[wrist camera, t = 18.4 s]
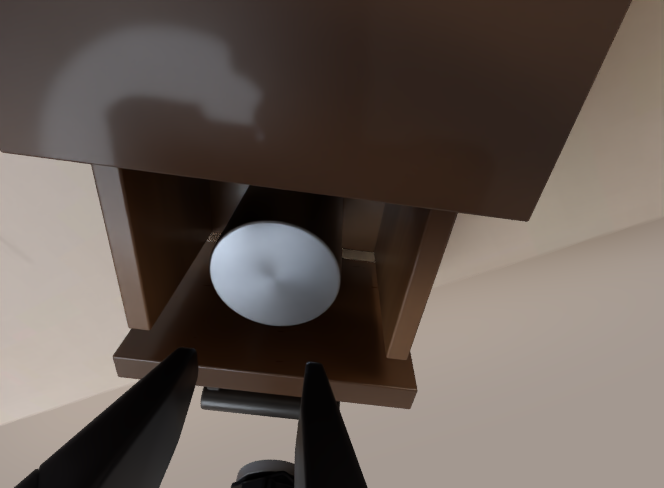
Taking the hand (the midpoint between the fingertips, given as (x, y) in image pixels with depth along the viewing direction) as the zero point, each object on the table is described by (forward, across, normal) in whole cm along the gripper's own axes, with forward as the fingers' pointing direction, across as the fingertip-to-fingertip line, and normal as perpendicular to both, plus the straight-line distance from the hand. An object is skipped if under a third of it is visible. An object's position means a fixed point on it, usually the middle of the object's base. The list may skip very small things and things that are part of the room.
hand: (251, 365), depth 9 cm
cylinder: (+10, 0, 0) cm, 10 cm away
